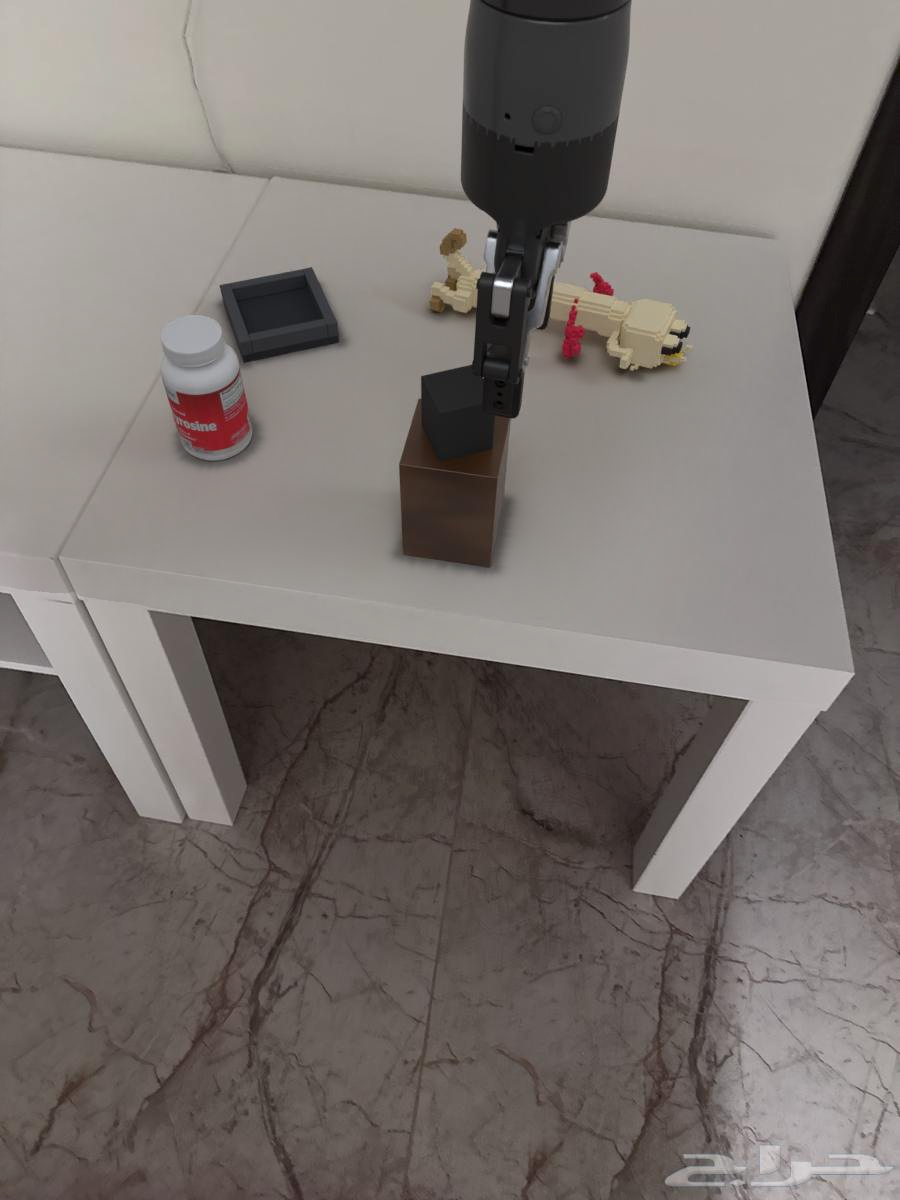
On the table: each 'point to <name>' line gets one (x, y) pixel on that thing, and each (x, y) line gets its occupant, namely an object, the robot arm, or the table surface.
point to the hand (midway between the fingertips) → (516, 367)
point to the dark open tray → (279, 314)
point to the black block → (455, 413)
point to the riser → (452, 497)
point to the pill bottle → (204, 388)
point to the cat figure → (580, 313)
